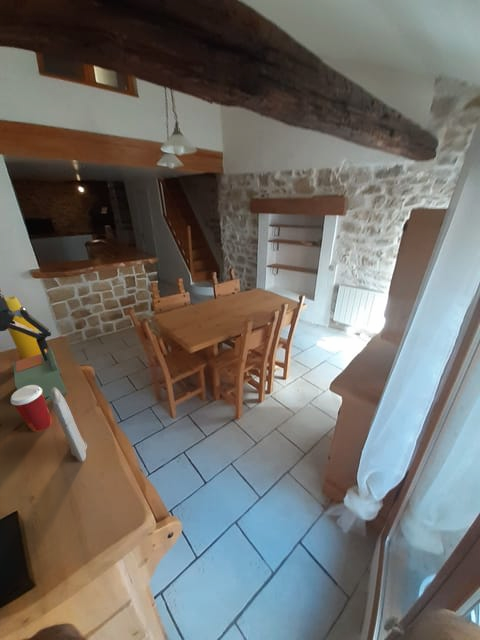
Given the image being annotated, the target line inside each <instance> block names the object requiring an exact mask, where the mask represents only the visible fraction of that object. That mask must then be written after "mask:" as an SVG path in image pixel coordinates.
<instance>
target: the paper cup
mask: <svg viewBox="0 0 480 640" xmlns="http://www.w3.org/2000/svg"><path fill="white" fill-rule="evenodd" d="M45 400H46V398H44V397H43V394H42V388H40V387H39V386H37V385H28V386H25V387H22V388H20V389H19V390H17V389H16V391H14V392H13V394H11V397H10V404H12V405H13V406H14V407H15V408H16V410H17V411H18V413H19V415H20V416H21V417H22V419H23V420H24V422H25V423H26V424H27V426H28V427H29V429H30V430H31V431H32V432H35V433H38V432H41V431H44V430H46V429H47V428H49V427H50V426H51V424H52V422H53V418H52V415H51V413H50V410H49V407H48V404H47V401H46V402H45Z"/></svg>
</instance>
